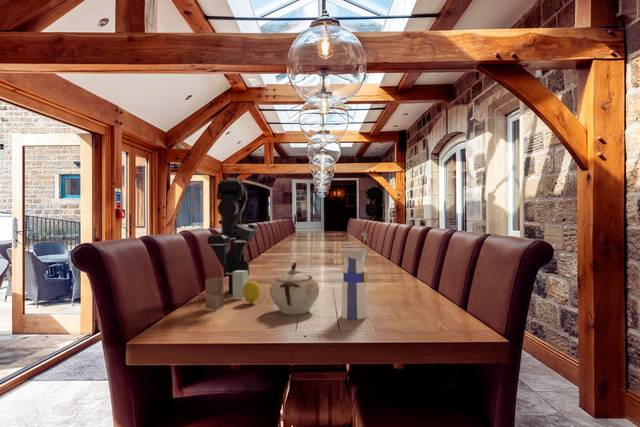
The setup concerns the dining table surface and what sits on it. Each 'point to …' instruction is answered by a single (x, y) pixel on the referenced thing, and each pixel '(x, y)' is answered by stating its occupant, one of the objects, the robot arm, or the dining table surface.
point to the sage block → (239, 283)
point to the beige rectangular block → (214, 293)
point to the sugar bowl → (294, 292)
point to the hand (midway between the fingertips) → (230, 264)
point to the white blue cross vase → (354, 283)
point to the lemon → (251, 291)
